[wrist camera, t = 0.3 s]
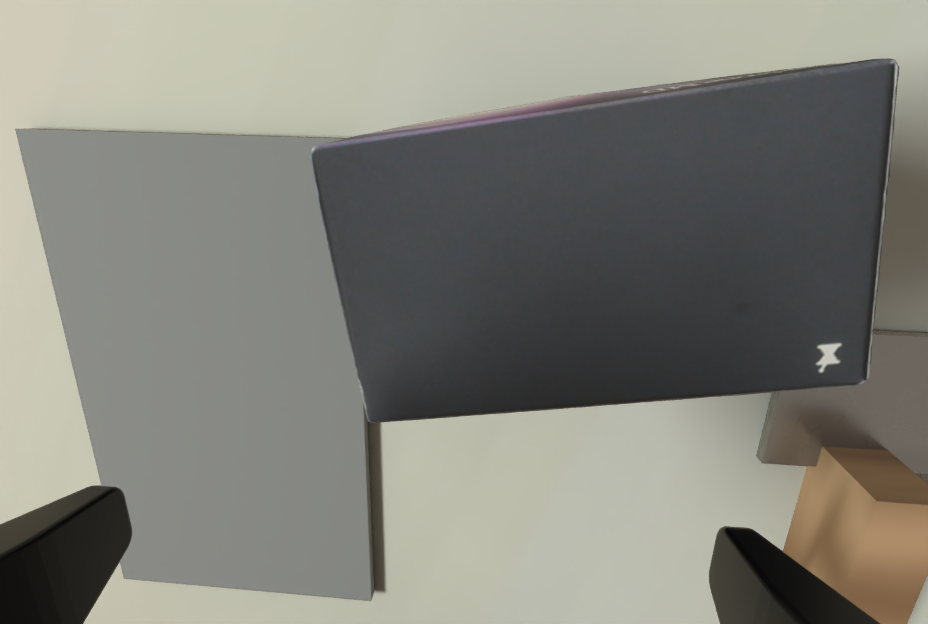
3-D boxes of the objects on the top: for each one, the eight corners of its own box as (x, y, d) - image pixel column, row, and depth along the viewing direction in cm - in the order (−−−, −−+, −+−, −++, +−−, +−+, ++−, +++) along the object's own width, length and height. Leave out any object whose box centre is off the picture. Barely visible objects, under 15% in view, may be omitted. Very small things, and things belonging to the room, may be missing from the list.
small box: (700, 84, 18) (929, 32, 8) (700, 267, 20) (883, 398, 10) (402, 131, 19) (293, 132, 10) (431, 297, 21) (365, 440, 12)
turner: (872, 609, 25) (937, 694, 21) (720, 596, 25) (757, 677, 22) (975, 334, 20) (1083, 381, 16) (787, 325, 21) (849, 368, 17)
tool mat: (374, 591, 27) (371, 600, 26) (131, 569, 28) (124, 578, 27) (356, 138, 20) (352, 138, 19) (28, 128, 20) (15, 128, 20)
